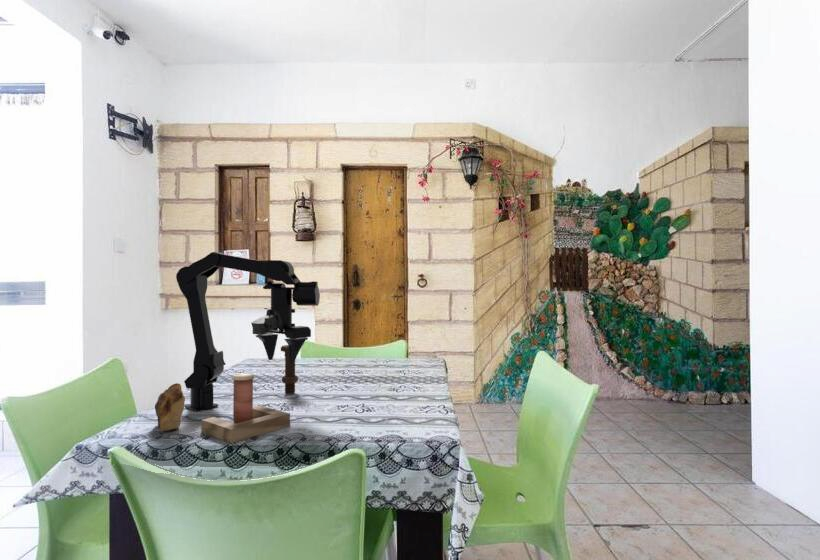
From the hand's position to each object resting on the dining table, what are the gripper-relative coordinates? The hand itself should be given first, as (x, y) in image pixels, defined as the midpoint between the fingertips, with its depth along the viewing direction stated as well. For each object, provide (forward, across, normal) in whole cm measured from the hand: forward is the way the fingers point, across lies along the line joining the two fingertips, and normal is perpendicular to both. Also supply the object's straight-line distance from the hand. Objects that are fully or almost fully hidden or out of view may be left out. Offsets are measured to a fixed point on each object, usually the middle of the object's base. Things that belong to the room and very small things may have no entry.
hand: (280, 361), depth 133 cm
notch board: (+13, +9, -17) cm, 23 cm away
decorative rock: (+13, -6, -28) cm, 31 cm away
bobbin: (+13, +7, -17) cm, 23 cm away
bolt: (+13, -12, +13) cm, 22 cm away
